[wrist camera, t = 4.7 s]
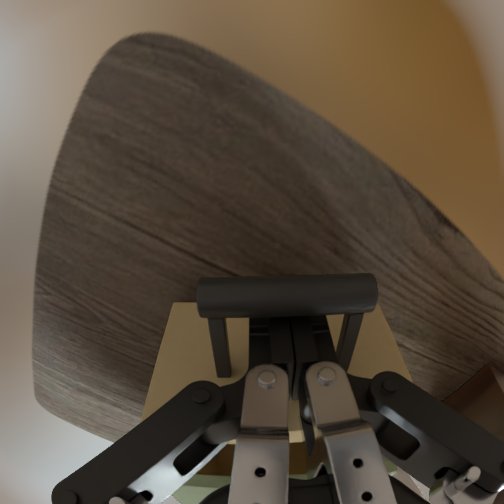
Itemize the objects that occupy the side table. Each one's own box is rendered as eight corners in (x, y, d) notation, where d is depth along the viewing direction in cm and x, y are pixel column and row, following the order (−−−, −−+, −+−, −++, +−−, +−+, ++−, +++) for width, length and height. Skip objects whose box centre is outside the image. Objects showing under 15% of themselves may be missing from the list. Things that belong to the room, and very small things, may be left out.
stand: (431, 409, 26) (472, 547, 11) (487, 363, 23) (548, 506, 7) (459, 415, 28) (496, 529, 13) (507, 376, 25) (557, 492, 9)
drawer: (157, 221, 14) (91, 340, 8) (392, 217, 14) (476, 325, 8) (204, 420, 24) (196, 501, 17) (337, 415, 24) (350, 495, 17)
